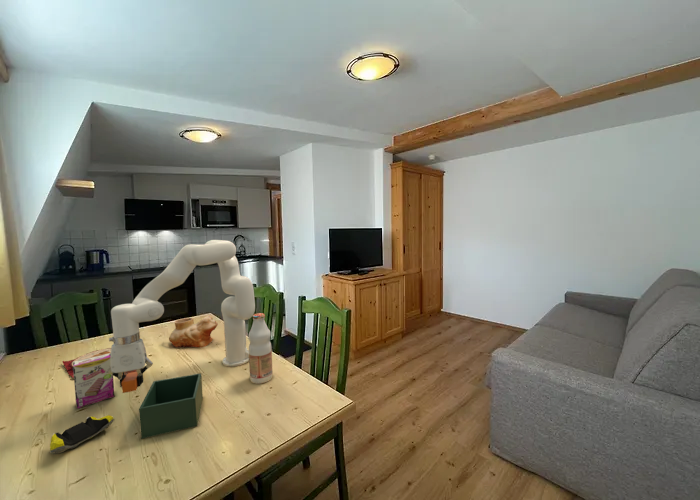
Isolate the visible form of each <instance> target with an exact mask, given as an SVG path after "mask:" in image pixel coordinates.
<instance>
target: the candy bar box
mask: <svg viewBox="0 0 700 500" xmlns="http://www.w3.org/2000/svg"><path fill="white" fill-rule="evenodd" d="M110 366H111V354H110V353H109V354H105V355H100V356H96V357H92V358H88V359H84V360H79V361H75V362H73V372H74V378H73V385H74V395H75V396H74V397H75V405H76V406H75V407H76V409H77V410H78V409H82V408H83V407H86V406H90V405H93V404H96V403H99V402H103V401H105V400H109V399H112V398H114V397H115V382H114V376H113V375H111V374H108V373H107V370H108V369H109V367H110Z"/></svg>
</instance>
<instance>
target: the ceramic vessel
mask: <svg viewBox="0 0 700 500" xmlns="http://www.w3.org/2000/svg"><path fill="white" fill-rule="evenodd" d="M218 325H219V323H218V322H217V320H215V319H213V317H212V316H211V315H207V316H204V317H203V318H201V319H200V320H199V321H198V322H196V323H195V322H194V318H193V317H184V318H180V319H179V318H178V319H176V320H174V327H175V328H174V329H173V330H172V331H171V332H170V334H169V336H168V341H169V342H170V343H171V344H172V346H174V348H180V349H181V348H199V349H201V348H205V347H206V346H208V345H210V344H211V343H212V341H213V337H212V336H211V335H212V332H214V331H215V330H216V328H217V327H218Z"/></svg>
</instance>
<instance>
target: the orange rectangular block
mask: <svg viewBox="0 0 700 500" xmlns="http://www.w3.org/2000/svg"><path fill="white" fill-rule="evenodd" d="M137 376H138V375H137V372H132V373H128V374H127V375H126V377H125V378H124V380H123V381H122V382H121V383H122V387H121V391H122V394H125V393H131V392H136V391H137V390H138V388H139V387H138V386H137Z"/></svg>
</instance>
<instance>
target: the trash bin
mask: <svg viewBox="0 0 700 500" xmlns="http://www.w3.org/2000/svg"><path fill="white" fill-rule="evenodd" d="M202 379H203V378H202V372H200V373H199V372H198V373H193V374H188V375H187V374H186V375H183V376H177V377H170V378H165V379H158V380H153V382H152V383H151V385H150V387H149V389H148V390H147V393H146V395H145V397H144V398H143V401H142V403H141V404H140V406H139V408H138V414H139V427H140V428H139V429H140V439H141V440H142V439H148V438H151V437H157V436H159V435H160V436H161V435H165V434H170V433H173V432H178V431H183V430H187V429H191V428H196V427H198V424H199V418H200V415H201V414H200V413H201V408H202V403H203V399H204V397H203V395H204V394H203V380H202Z"/></svg>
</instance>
